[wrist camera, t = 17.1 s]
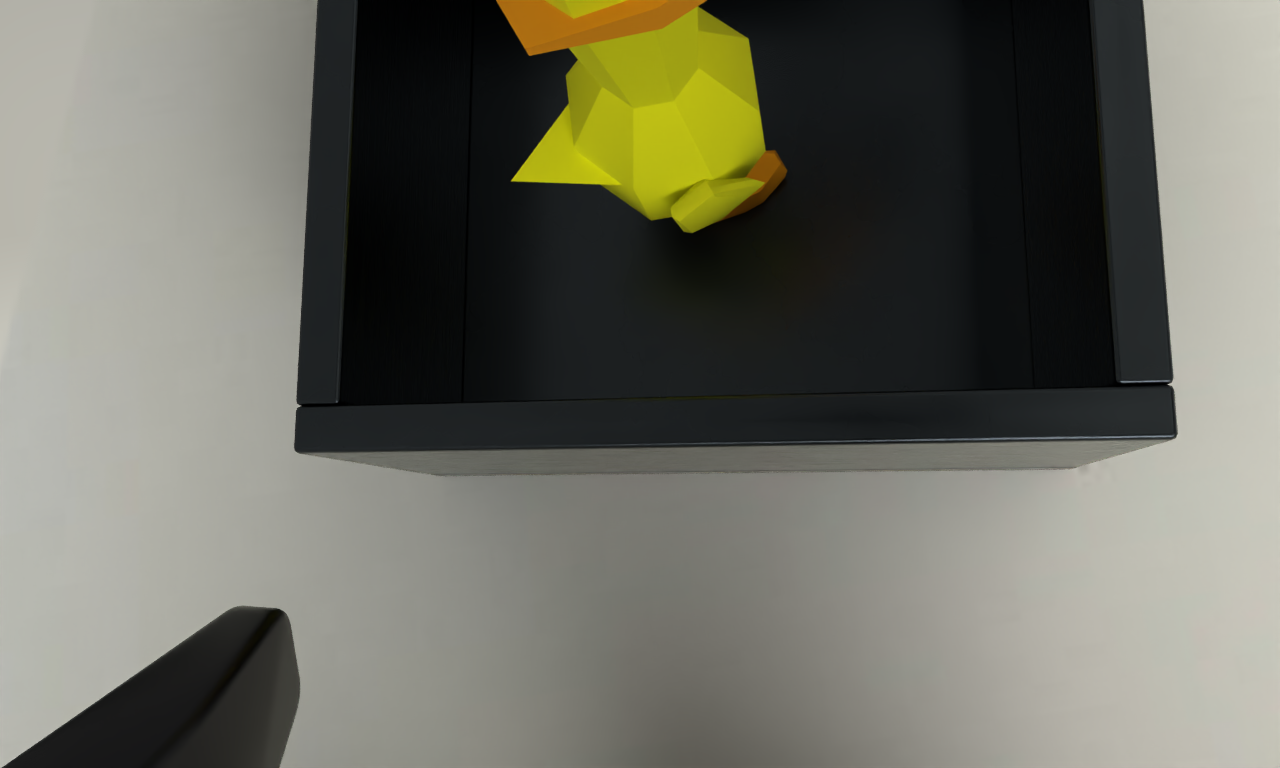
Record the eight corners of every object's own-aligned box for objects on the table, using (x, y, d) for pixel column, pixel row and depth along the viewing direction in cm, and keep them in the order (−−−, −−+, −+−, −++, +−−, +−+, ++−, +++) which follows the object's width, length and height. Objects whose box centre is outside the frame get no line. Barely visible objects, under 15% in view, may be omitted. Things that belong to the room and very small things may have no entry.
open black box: (1073, 469, 18) (1180, 439, 12) (437, 476, 20) (291, 453, 15) (1033, -142, 20) (1112, -401, 14) (454, -75, 22) (330, -279, 16)
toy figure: (836, 2, 19) (849, -817, 8) (937, 150, 19) (1125, -512, 7) (538, 186, 20) (125, -315, 8) (624, 338, 19) (305, 22, 7)
